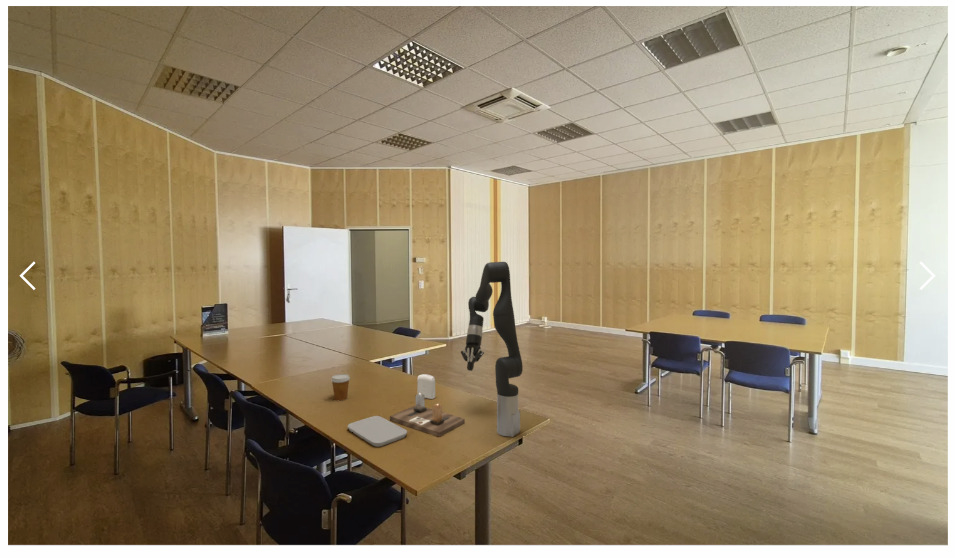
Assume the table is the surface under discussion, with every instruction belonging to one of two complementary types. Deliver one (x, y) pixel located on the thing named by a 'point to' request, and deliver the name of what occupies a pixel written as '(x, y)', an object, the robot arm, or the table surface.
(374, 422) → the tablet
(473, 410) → the table surface
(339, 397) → the disposable coffee cup
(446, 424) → the switch board
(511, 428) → the robot arm
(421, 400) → the grey switch
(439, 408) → the copper switch
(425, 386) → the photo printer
